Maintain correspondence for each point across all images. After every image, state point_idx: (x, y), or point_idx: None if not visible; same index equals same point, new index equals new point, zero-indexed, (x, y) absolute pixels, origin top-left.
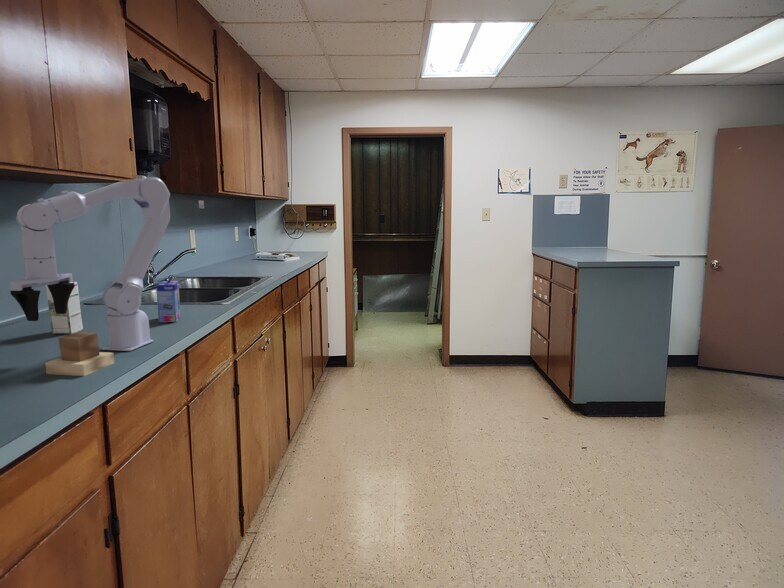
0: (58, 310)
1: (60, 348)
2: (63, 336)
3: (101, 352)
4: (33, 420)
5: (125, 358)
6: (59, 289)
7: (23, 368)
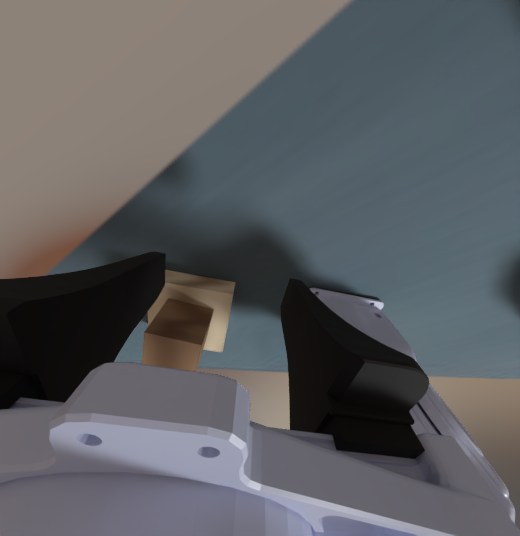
0: (288, 295)
1: (156, 315)
2: (156, 336)
3: (223, 335)
4: None
5: (250, 342)
6: (304, 396)
7: (184, 198)
